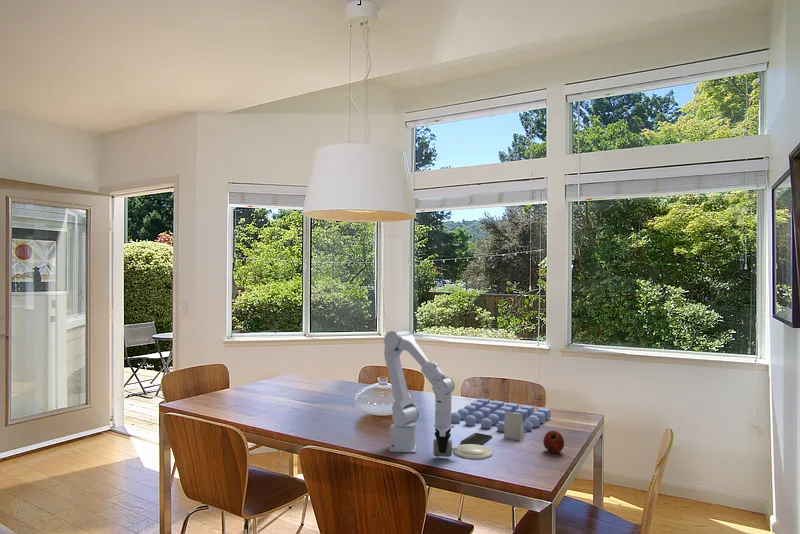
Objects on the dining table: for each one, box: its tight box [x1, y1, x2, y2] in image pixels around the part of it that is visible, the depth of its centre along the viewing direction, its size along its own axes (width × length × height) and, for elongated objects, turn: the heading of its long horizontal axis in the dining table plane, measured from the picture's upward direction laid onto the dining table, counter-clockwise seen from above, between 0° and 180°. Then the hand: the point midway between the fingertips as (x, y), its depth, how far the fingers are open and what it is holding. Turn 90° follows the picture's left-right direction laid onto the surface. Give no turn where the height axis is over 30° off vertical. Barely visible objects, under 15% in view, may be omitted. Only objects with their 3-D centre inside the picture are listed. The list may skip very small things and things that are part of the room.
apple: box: [542, 430, 565, 454], centre depth 191 cm, size 7×8×8 cm
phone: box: [460, 432, 493, 446], centre depth 203 cm, size 8×1×15 cm
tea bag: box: [503, 412, 524, 441], centre depth 207 cm, size 4×7×10 cm, turn 61°
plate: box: [453, 444, 493, 460], centre depth 189 cm, size 14×14×1 cm
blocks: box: [451, 397, 552, 435], centre depth 232 cm, size 35×34×5 cm
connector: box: [432, 438, 458, 458], centre depth 182 cm, size 8×4×5 cm, turn 84°
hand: (442, 450), depth 182 cm, fingers closed on connector, 3 cm apart
